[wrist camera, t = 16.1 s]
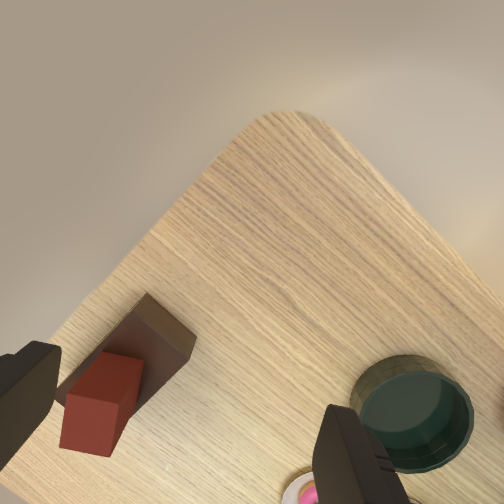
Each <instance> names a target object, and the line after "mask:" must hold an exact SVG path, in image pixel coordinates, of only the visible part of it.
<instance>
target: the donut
mask: <svg viewBox="0 0 504 504" xmlns="http://www.w3.org/2000/svg"><path fill="white" fill-rule="evenodd" d="M281 504H319V502H318V496H317V491H316V486H315V481H314V476H313V472H308V473H306V474H303V475H301V476H300V477H298V478H296V479H295V480H294V481H293V482H292V483H291V484H290V485H289V486H288V488H287V489H286V491H285V493H284V495H283V498H282V501H281Z"/></svg>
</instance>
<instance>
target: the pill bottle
mask: <svg viewBox="0 0 504 504" xmlns="http://www.w3.org/2000/svg"><path fill="white" fill-rule="evenodd" d="M409 500H410V502H411V504H420V503H418V502H417V501H415V500H413V499H410V498H409Z"/></svg>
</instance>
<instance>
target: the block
mask: <svg viewBox="0 0 504 504" xmlns="http://www.w3.org/2000/svg"><path fill="white" fill-rule="evenodd" d="M196 338H197V337H196V336H195V335H194V334H193V333H192V332H191V331H189V330H188V329H187V328H186V327H185V326H184V325H183V324H181V323H180V322H179V321H178V320H177V319H176V318H175V317H173V316H172V315H171V314H170V313H169V312H168V311H167V310H166V309H164V308H163V307H162V306H161V305H160V304H159V303H158V302H156V301H155V300H154V299H153V298H152V297H151V296H150V295H148V294H147V293H146V294H145V295H144V296H143V297H142V298H141V299H140V300H139V301H138V302H137V303H136V304H135V306H134V307H133V308H132V309H131V310H130V311H129V312H128V313H127V314H126V315H125V316H124V317H123V318H122V319H121V320H120V321H119V322H118V323H117V324H116V325H115V326H114V328H113V329H112V330H111V331H110V332H109V333H108V334H107V335H106V336H105V337H104V338H103V339H102V340H101V341H100V342H99V343H98V344H97V345H96V346H95V347H94V348H93V350H92V351H91V352H90V353H89V354H88V355H87V356H86V357H85V358H84V359H83V360H82V361H81V362H80V363H79V364H78V365H77V366H76V367H75V368H74V369H73V371H72V372H71V373H70V374H69V375H68V376H67V377H66V378H65V380H64V381H63V382H62V383H61V384H60V385H59V386H58V387H57V390H56V396H55V400H56V401H57V402H58V403H60V404H61V405H62V406H63V407H65V403H66V397H67V393H68V392H69V391H70V389H71V388H72V387H73V386H74V384H75V383H76V382H77V381H78V380H79V378H80V377H81V376H82V375H83V374H84V372H85V371H86V370H87V369H88V368H89V366H90V365H91V364H92V363H93V361H94V360H95V359H96V358H97V357H98V355H99V354H100V353H101V352H102V351H103V352H108V353H113V354H117V355H122V356H127V357H132V358H136V359H141V360H144V365H143V370H142V375H141V381H140V386H139V391H138V397H137V402H136V406H135V408H134V410H133V412H132V414H131V416H130V418H131V417H132V416H133V415H134V414H135V413H136V412H137V411H138V410H139V409H140V408H141V407H142V406H143V405H144V404H145V403H146V402H147V401H148V400H149V399H150V398H151V397H152V396H153V395H154V394H155V393H156V392H157V391H158V390H159V389H160V388H161V387H162V386H163V385H164V384H165V383H166V382H167V381H168V380H169V379H170V378H171V377H172V376H173V375H174V374H175V373H176V372H177V371H178V370H180V369H181V368H182V367H183V366H184V365H185V364H186V363H187V362H188V361H189V359H190V356H191V353H192V350H193V347H194V344H195V341H196ZM130 418H129V419H130Z"/></svg>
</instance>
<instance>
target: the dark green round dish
mask: <svg viewBox="0 0 504 504" xmlns="http://www.w3.org/2000/svg"><path fill="white" fill-rule="evenodd" d="M350 408H351V409H355V411H356V412H357V415H358V417H359V419H360V422H361V424H362V427H363V429H366V430H371V431H372V433H373V434H374V435H375V436H376V437H377V438H378V439H379V440H380V441H381V442H382V443H383V445H384V447H385V449H386V451H387V453H388V456H389V458H390V461H391V462H392V464H393V466H394V468H395V472H399V473H404V474H415V473H425V472H428V471H431V470H434V469H437V468H440V467H441V466H444V465H445V464H447V463H448V462H449V461H451V460H452V459H454V458H455V457H456V456H457V455H458V454H459V453H460V452H461V451H462V449H463V448H464V447H465V446H466V444H467V443H468V441H469V438H470V435H471V433H472V430H473V427H474V410H473V407H472V404H471V401H470V398H469V396H468V394H467V393H466V392H465V391H464V390H463V388H462V387H461V386H460V385H459V384H458V383H457V382H456V380H455V379H454V378H453V377H452V376H451V375H450V374H449V373H448V372H447V371H446V370H445V369H444V368H442V367H441V366H440V365H439V364H437V363H435V362H434V361H432V360H430V359H427V358H424V357H421V356H415V355H399V356H394V357H390V358H387V359H384V360H382V361H380V362H378V363H376V364H375V365H373V366H371V367H370V368H369V369H368V370H367V371H366V372H365V373H364V374H363V375H362V376H361V377H360V378H359V380H358V381H357V383H356V385H355V386H354V389H353V391H352V394H351V399H350Z"/></svg>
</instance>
